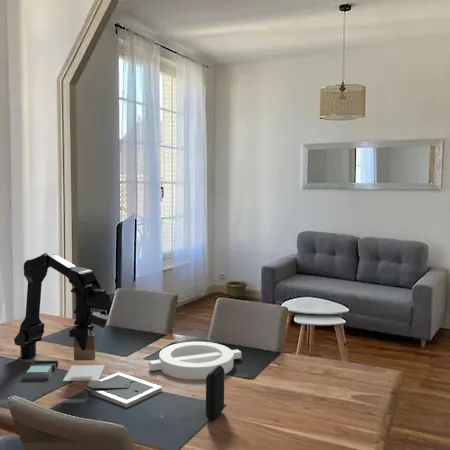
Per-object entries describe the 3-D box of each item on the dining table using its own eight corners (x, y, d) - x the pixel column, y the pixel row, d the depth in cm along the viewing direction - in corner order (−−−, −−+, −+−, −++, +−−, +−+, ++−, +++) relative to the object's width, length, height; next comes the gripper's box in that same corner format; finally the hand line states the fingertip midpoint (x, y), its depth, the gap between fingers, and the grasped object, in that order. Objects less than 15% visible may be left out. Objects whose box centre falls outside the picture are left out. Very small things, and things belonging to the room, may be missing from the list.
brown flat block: (75, 358, 183) (75, 334, 182) (95, 358, 184) (95, 333, 183) (73, 360, 181) (73, 335, 180) (94, 360, 182) (94, 335, 181)
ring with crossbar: (145, 372, 187) (145, 360, 187) (180, 349, 213) (180, 338, 213) (215, 385, 177) (215, 372, 176) (243, 359, 203) (244, 347, 202)
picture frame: (83, 392, 170) (126, 409, 158) (82, 384, 170) (126, 401, 158) (118, 377, 183) (161, 392, 171) (118, 370, 183) (161, 384, 170)
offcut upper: (31, 368, 184) (31, 365, 183) (51, 368, 184) (51, 365, 184) (26, 375, 178) (26, 372, 177) (47, 374, 178) (47, 371, 178)
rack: (33, 367, 190) (33, 359, 189) (58, 367, 190) (58, 359, 190) (21, 383, 175) (21, 375, 175) (48, 383, 176) (48, 374, 176)
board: (72, 368, 190) (71, 365, 189) (105, 367, 190) (104, 365, 190) (62, 383, 176) (62, 380, 176) (98, 382, 177) (98, 380, 176)
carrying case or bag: (217, 407, 159) (218, 361, 158) (226, 409, 158) (227, 362, 156) (204, 422, 149) (204, 373, 148) (213, 424, 148) (214, 375, 147)
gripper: (102, 313, 172) (102, 358, 174) (110, 299, 191) (111, 340, 192) (68, 313, 171) (69, 358, 173) (80, 299, 190) (80, 340, 191)
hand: (84, 349), depth 182 cm, fingers closed on brown flat block, 2 cm apart
